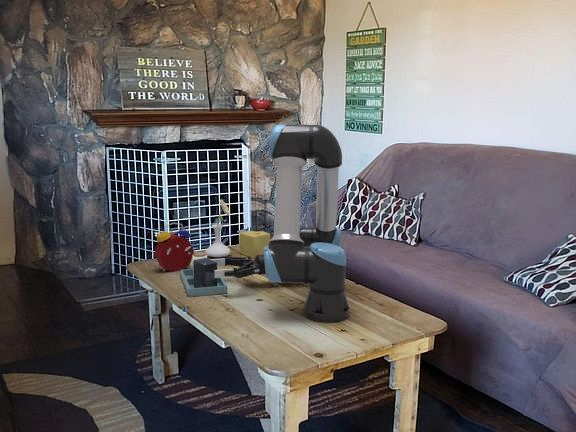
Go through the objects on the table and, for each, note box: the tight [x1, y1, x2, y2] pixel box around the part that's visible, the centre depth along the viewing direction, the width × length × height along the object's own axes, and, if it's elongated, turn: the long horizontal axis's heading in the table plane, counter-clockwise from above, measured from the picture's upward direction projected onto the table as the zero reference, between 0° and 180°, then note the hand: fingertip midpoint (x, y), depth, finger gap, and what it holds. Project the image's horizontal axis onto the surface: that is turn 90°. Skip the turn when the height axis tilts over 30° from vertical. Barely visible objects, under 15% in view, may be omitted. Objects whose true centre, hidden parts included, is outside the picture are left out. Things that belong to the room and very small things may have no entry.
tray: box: [179, 268, 229, 298], centre depth 220 cm, size 24×14×3 cm, turn 17°
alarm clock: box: [153, 222, 195, 272], centre depth 235 cm, size 15×9×20 cm, turn 123°
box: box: [192, 257, 218, 288], centre depth 214 cm, size 8×6×11 cm
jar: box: [191, 251, 208, 278], centre depth 226 cm, size 6×6×10 cm
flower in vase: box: [204, 199, 232, 258], centre depth 258 cm, size 13×11×25 cm
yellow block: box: [238, 230, 271, 259], centre depth 262 cm, size 10×11×10 cm
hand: (211, 268), depth 214 cm, fingers open, 13 cm apart
